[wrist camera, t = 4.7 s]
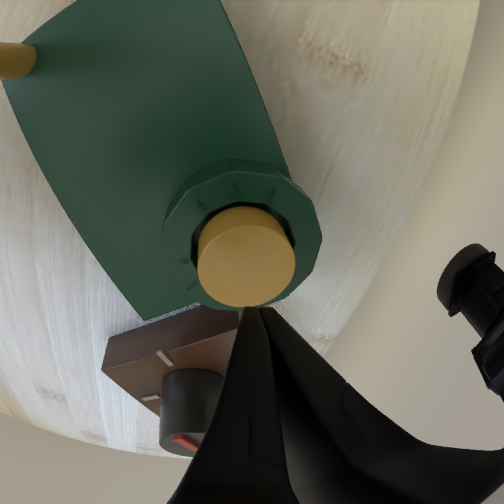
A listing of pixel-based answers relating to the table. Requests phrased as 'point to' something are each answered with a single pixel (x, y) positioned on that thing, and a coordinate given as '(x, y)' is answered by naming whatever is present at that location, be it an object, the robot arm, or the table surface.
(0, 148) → the table surface
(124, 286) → the lamp base
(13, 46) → the lamp stem
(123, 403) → the table surface
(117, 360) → the dimmer panel
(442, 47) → the table surface
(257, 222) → the lamp switch
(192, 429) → the dimmer knob
